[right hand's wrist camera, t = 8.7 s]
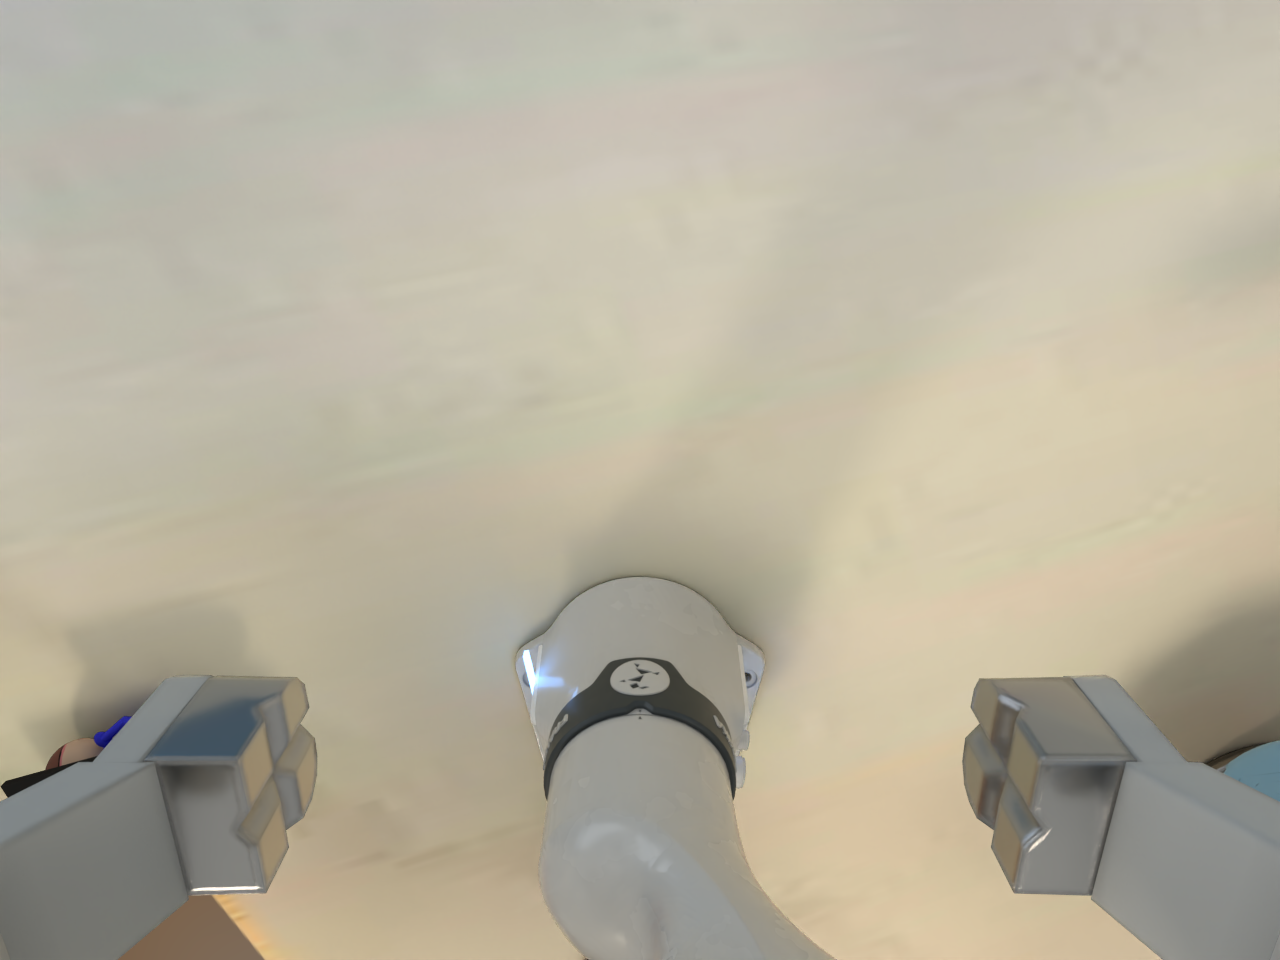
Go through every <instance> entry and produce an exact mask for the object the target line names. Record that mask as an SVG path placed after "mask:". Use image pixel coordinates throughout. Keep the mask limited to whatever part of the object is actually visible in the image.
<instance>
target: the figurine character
mask: <svg viewBox="0 0 1280 960" xmlns="http://www.w3.org/2000/svg"><path fill="white" fill-rule="evenodd" d="M130 719H131V717H130V716H124V717H122V718H121V719H120V720H119V721H118V722H117V723H115V724H114V725H113V726H112V727H111V728H110V729H108V730H107V731H106V732H98V733H97V734H95V736H94V738H82V739H77V740H74V741H71V742H69V743H67V744H65V745H64V746H62V747H61V748H59V749H58V750H57V751H56V752H55V753H54V754H53V756H52V757H51V758H50V760H49V762H48V764H47V766H46V770H44V771H40V772H37V773H33V774H30V775H26V776H22V777H19V778H15V779H12V780H8V781H6V782H5V783H4V784H3V785H2V786H1V788H2V789H3V791H4V792H5V794H6V796H7V797H8V798H9V797H11V796H13V795H15V794H16V793H18V792H20V791H22V790H24V789H26V788H28V787H30V786H32V785H34V784H36V783H38V782H40V781H42V780H44V779H46V778H48V777H50V776H52V775H54V774H56V773H58V772H60V771H62V770H64V769H66V768H68V767H70V766H72V765H74V764H76V763H78V762H93V761H94V760H95V759H96V757H97V756H98V755H99V754H100V753H101V752H102V751H103V749H104V748H105V747H106V746H107V745H108V744H109V743H110V741H111V740H112V738H113V737H114V736H115V735H116V734H117V733H118V732H119V731H120V730H121V729H122V728H123V727H124V725H125V724H126V723H127V722H128V721H129V720H130Z"/></svg>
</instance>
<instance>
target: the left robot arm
mask: <svg viewBox="0 0 1280 960" xmlns="http://www.w3.org/2000/svg"><path fill="white" fill-rule="evenodd" d="M1206 765H1208V766H1210V767H1212V768H1214V769H1216V770H1218V771H1220V772H1222V773H1224V774H1226V775H1228V776H1230V777H1232V778H1234V779H1236V780H1238V781H1240V782H1242V783H1244V784H1246V785H1247V786H1249V787H1251V788H1253V789H1255V790H1257V791H1259V792H1261V793H1263V794H1265V795H1267V796H1269V797H1271V798H1273V799H1275V800H1277V801H1279V802H1280V740H1278V741H1274V742H1270V743H1267V744H1263V745H1256V746H1251V747H1247V748H1243V749H1239V750H1236V751H1234V752H1231V753H1228V754H1226V755H1223V756H1221V757H1219V758H1217V759H1215V760H1213V761H1211V762H1210V763H1208V764H1206Z"/></svg>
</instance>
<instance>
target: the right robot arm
mask: <svg viewBox="0 0 1280 960" xmlns="http://www.w3.org/2000/svg"><path fill="white" fill-rule="evenodd" d="M515 667H516V671H517V675H518V678H519V682H520V685H521V688H522V692H523V695H524V698H525V702H526V705H527V709H528V712H529V715H530V719H531V723H532V726H533V729H534V732H535V736H536V739H537V742H538V746H539V749H540V753H541V756H542V759H543V763H544V766H543V770H545V771H544V790H545V796H546V799H547V807H546V814H545V822H544V829H543V837H542V844H541V851H540V859H539V867H538V875H539V883H540V889H541V893H542V896H543V899H544V902H545V905H546V907H547V909H548V911H549V913H550V915H551V916H552V918H553V920H554V921H555V923H556V925H557V926H558V927H559V929H560V930H561V932H562V933H563V934H564V936H565V937H566V939H567V940H568V941H569V942H570V943H571V945H572V946H573V947H574V948H575V949H576V950H577V951H578V952H579V953H581V954H582V955H583V956H584V957H586V958H587V960H837V959H835V958H834V957H832V956H831V955H830V954H828V953H827V952H826V951H824V950H823V949H821V948H820V947H819V946H818V945H816V944H815V943H814V942H813V941H812V940H810V939H809V938H808V937H807V936H806V935H804V934H803V933H802V932H801V931H800V930H799V929H798V928H797V927H796V926H795V925H794V924H793V923H792V922H791V921H790V920H789V919H788V918H787V917H786V916H785V915H784V914H783V913H782V912H781V911H780V910H779V908H778V907H777V906H776V905H775V904H774V903H773V902H772V900H771V899H770V898H769V897H768V895H767V894H766V893H765V892H764V890H763V889H762V887H761V886H760V884H759V883H758V881H757V880H756V878H755V877H754V875H753V873H752V871H751V869H750V867H749V865H748V862H747V859H746V856H745V853H744V849H743V845H742V842H741V838H740V834H739V830H738V825H737V821H736V816H735V810H734V805H733V800H734V796H735V790H736V789H740V788H742V787H743V784H744V780H745V773H746V763H745V759H744V758H743V757H742V756H739V753H740V750H747V749H748V746H749V739H750V735H749V731H746V729H747V726H748V723H749V719H750V715H751V712H752V709H753V705H754V702H755V699H756V695H757V692H758V688H759V685H760V682H761V678H762V675H763V672H764V667H765V660H764V654H763V652H762V651H761V649H760V648H759V647H757V646H756V645H755V644H753V643H752V642H750V641H748V640H747V639H745V638H743V637H741V636H740V635H738V634H736V633H735V632H734V631H733V630H732V629H731V628H730V627H729V625H728V624H727V623H726V621H725V620H724V618H723V617H722V616H721V614H720V613H719V612H718V611H717V609H716V608H715V607H714V606H713V605H712V604H711V603H710V602H709V601H707V600H706V599H705V598H704V597H702V596H701V595H700V594H698V593H696V592H695V591H693V590H691V589H689V588H687V587H685V586H683V585H681V584H678V583H675V582H672V581H669V580H664V579H659V578H652V577H628V578H621V579H616V580H611V581H608V582H605V583H602V584H599V585H597V586H595V587H593V588H591V589H589V590H587V591H585V592H584V593H582V594H580V595H579V596H578V597H576V598H575V599H574V600H573V601H571V602H570V603H569V604H568V605H567V606H566V607H565V608H564V609H563V611H562V612H561V613H560V614H559V616H558V617H557V619H556V620H555V621H554V623H553V624H552V625H551V627H550V628H549V629H548V630H547V631H546V632H545V633H544V634H542V635H540V636H539V637H537V638H535V639H533V640H532V641H530V642H528V643H527V644H525V645H524V646H523V647H521V648H520V649H519V651H518V652H517V654H516V661H515ZM534 673H535V674H534ZM745 673H749V675H748V676H746V677H745ZM308 709H309V703H308V699H307V694H306V689H305V684H304V683H303V682H302V681H301V680H299V679H298V678H297V677H257V676H215V677H214V676H211V675H197V676H173V677H170V678H167V679H165V680H164V681H163V682H162V683H161V684H160V685H159V686H158V688H157V689H156V690H155V691H154V692H153V693H152V694H151V696H150V697H149V698H148V699H147V700H146V701H145V702H144V704H143V705H142V706H141V707H140V708H139V709H138V711H137V712H136V713H135V714H134V715H133V716H132V717H131V719H130V720H129V721H128V722H127V723H126V724H125V725H124V727H123V728H122V729H121V730H120V731H119V732H118V733H117V735H116V736H115V737H114V738H113V739H112V740H111V741H110V743H109V744H108V745H107V746H106V747H105V748H104V749H103V751H102V752H101V753H100V754H99V755H98V756H97V757H96V759H95V760H94V761H93V762H78V763H76V764H74V765H72V766H70V767H68V768H66V769H64V770H62V771H60V772H58V773H56V774H54V775H52V776H50V777H48V778H46V779H44V780H42V781H40V782H38V783H36V784H34V785H32V786H30V787H28V788H26V789H24V790H22V791H20V792H18V793H16V794H15V795H13V796H11V797H9V798H7V799H5V800H3V801H1V802H0V960H118V959H119V958H120V957H121V956H122V955H124V954H125V953H126V952H127V951H128V950H130V949H131V948H132V947H133V946H134V945H135V944H137V943H138V942H139V941H140V940H141V939H143V938H144V937H145V936H146V935H147V934H149V933H150V932H151V931H152V930H153V929H154V928H156V927H157V926H158V925H159V924H160V923H162V922H163V921H164V920H165V919H166V918H168V917H169V916H170V915H171V914H172V913H174V912H175V911H176V910H177V909H178V908H179V907H181V906H182V905H183V904H184V903H185V902H187V901H188V899H189V897H188V895H222V894H257V893H266V892H267V890H268V888H269V886H270V884H271V882H272V880H273V878H274V876H275V874H276V872H277V870H278V868H279V866H280V864H281V862H282V860H283V858H284V856H285V854H286V852H287V850H288V848H289V845H288V839H287V834H286V830H287V829H288V828H290V827H291V826H293V825H294V824H295V823H297V822H298V821H300V820H301V819H303V817H304V815H305V813H306V811H307V809H308V807H309V804H310V802H311V800H312V796H313V792H314V787H315V782H316V777H317V751H316V744H315V738H314V737H313V736H312V735H311V734H310V733H309V732H308V731H307V730H306V729H305V728H304V727H303V726H302V725H301V724H300V723H301V721H302V720H303V718H304V716H305V714H306V712H307V711H308ZM971 709H972V711H973V712H974V714H975V716H976V718H977V720H978V721H979V723H980V724H979V725H978V726H977V727H976V728H975V729H974V730H973V731H972V732H971V733H970V734H969V735H968V736H967V737H966V738H965V745H964V753H963V761H962V762H963V775H964V785H965V789H966V792H967V796H968V799H969V802H970V805H971V807H972V809H973V811H974V813H975V815H976V817H977V819H979V820H980V821H982V822H983V823H985V824H986V825H987V826H989V827H990V828H992V829H993V830H994V834H993V839H992V845H991V848H992V850H993V852H994V854H995V856H996V858H997V860H998V862H999V864H1000V866H1001V868H1002V870H1003V872H1004V874H1005V876H1006V878H1007V880H1008V882H1009V884H1010V886H1011V888H1012V890H1013V892H1014V893H1021V894H1056V895H1092V897H1091V900H1093V901H1094V902H1095V903H1096V904H1097V905H1099V906H1100V907H1101V908H1102V909H1103V910H1105V911H1106V912H1107V913H1108V914H1109V915H1110V916H1112V917H1113V918H1114V919H1115V920H1116V921H1118V922H1119V923H1120V924H1121V925H1122V926H1123V927H1125V928H1126V929H1127V930H1128V931H1129V932H1131V933H1132V934H1133V935H1134V936H1135V937H1137V938H1138V939H1139V940H1140V941H1141V942H1142V943H1144V944H1145V945H1146V946H1147V947H1148V948H1150V949H1151V950H1152V951H1153V952H1154V953H1156V954H1157V955H1158V956H1159V957H1160V958H1161V959H1163V960H1280V802H1279V801H1277V800H1275V799H1273V798H1271V797H1269V796H1267V795H1265V794H1263V793H1261V792H1259V791H1257V790H1255V789H1253V788H1251V787H1249V786H1247V785H1246V784H1244V783H1242V782H1240V781H1238V780H1236V779H1234V778H1232V777H1230V776H1228V775H1226V774H1224V773H1222V772H1220V771H1218V770H1216V769H1214V768H1212V767H1210V766H1208V765H1206V764H1204V763H1202V762H1187V761H1186V760H1185V759H1184V757H1183V756H1182V755H1181V754H1180V753H1179V752H1178V751H1177V749H1176V748H1175V747H1174V746H1173V745H1172V744H1171V743H1170V741H1169V740H1168V739H1167V738H1166V737H1165V736H1164V735H1163V733H1162V732H1161V731H1160V730H1159V729H1158V728H1157V727H1156V725H1155V724H1154V723H1153V722H1152V721H1151V720H1150V719H1149V717H1148V716H1147V715H1146V714H1145V713H1144V712H1143V711H1142V709H1141V708H1140V707H1139V706H1138V705H1137V704H1136V703H1135V701H1134V700H1133V699H1132V698H1131V697H1130V696H1129V695H1128V693H1127V692H1126V691H1125V690H1124V689H1123V688H1122V687H1121V685H1120V684H1119V683H1118V682H1117V681H1116V680H1115V679H1113V678H1111V677H1109V676H1106V675H1088V676H1063V677H1041V678H979V680H978V682H977V684H976V686H975V688H974V692H973V697H972V703H971Z"/></svg>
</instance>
